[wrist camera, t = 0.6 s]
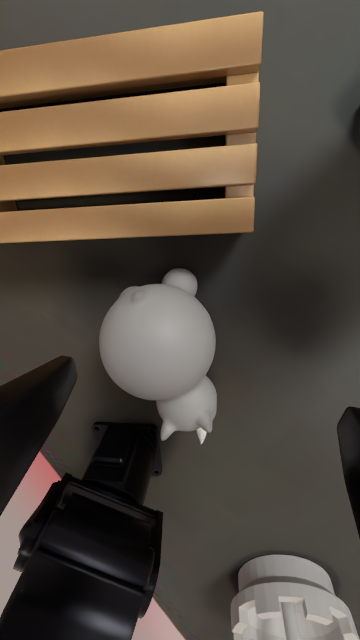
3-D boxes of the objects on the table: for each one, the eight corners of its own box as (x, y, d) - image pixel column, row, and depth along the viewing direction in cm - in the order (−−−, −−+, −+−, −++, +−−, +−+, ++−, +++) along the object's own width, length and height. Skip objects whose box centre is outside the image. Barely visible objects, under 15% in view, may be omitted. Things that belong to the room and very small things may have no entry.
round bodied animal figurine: (166, 403, 26) (144, 491, 18) (111, 283, 22) (52, 330, 14) (243, 386, 24) (255, 476, 16) (198, 253, 20) (186, 287, 12)
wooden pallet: (246, 226, 19) (253, 232, 15) (6, 237, 21) (-37, 245, 18) (253, 55, 15) (263, 9, 12) (-35, 92, 18) (-100, 64, 14)
